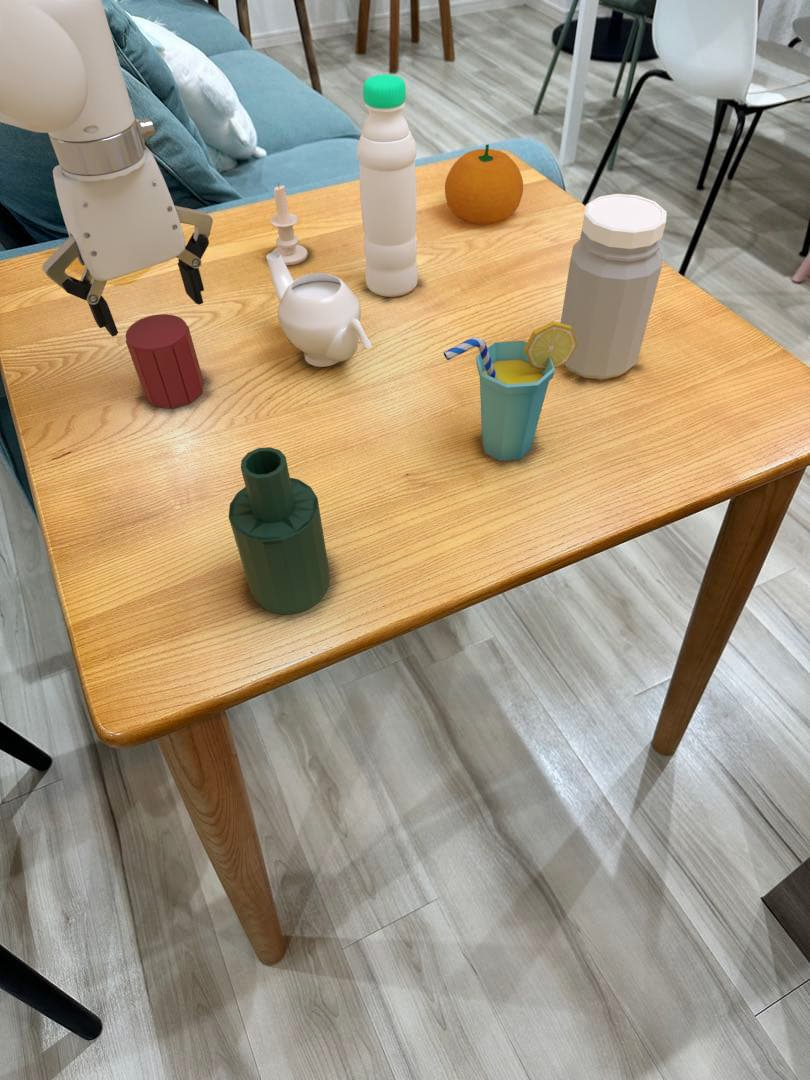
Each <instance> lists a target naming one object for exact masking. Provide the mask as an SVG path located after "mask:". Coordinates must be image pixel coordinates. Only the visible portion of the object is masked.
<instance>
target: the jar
mask: <svg viewBox="0 0 810 1080" xmlns="http://www.w3.org/2000/svg"><path fill="white" fill-rule="evenodd" d="M583 214H584V215H583V220H582V226H581V232H580V237H579V239H578V241H576V242H575V243H574V244H573V245H572V249H571V253H570V260H569V266H568V273H567V279H566V286H565V292H564V298H563V305H562V312H561V318H560V323H562V324H566V325H569V326H571V327H572V329H573V332H574V335H575V338H576V341H577V344H578V345H577V347H576V349H575V351H574V352H573V354H572V356H571V358H570V359H569V361H568V363H565V364H563V365H564V367H566V369H567V370H568V371H570V372H571V373H573V374H575V375H578V376H580V377H581V378H585V379H591V380H599V381H603V380H607V379H608V380H609V379H613V378H618V377H620V376H622V375H623V374H625V373H626V372H628V371H629V370H630V369H631V368H633V367H634V366H635V365H636V364H637V363H638V360H639V358H640V357H639V356H640V353H641V348H642V346H643V341H644V337H645V333H646V331H647V325H648V322H649V318H650V314H651V310H652V306H653V303H654V298H655V294H656V291H657V288H658V283H659V279H660V276H661V271H662V268H663V253H662V251H661V249H660V248H661V239H662V238H663V236H664V233H665V229H666V225H667V211H666V209H664V208H663V207H662V206H661V205H660V204H659V203H658V202H656V201H655V200H652V199H650V198H648V197H647V198H646V197H643V196H640V195H637V194H628V193H627V194H626V193H614V194H607V195H601V196H600V195H599V196H598V197H596V198H594V199H592V200H591V201H589V202H587V203H586V204H585V208H584V213H583Z"/></svg>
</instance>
